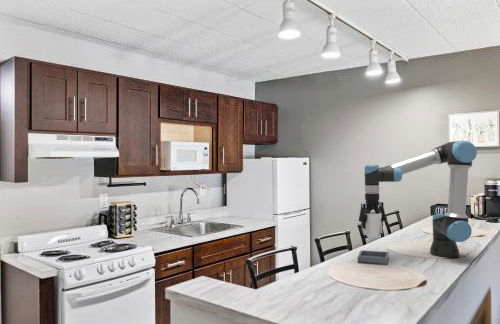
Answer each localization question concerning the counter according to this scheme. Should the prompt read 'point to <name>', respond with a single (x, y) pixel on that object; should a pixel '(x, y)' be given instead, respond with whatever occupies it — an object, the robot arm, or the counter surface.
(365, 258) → the bin
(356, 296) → the counter surface
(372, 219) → the foam cup
